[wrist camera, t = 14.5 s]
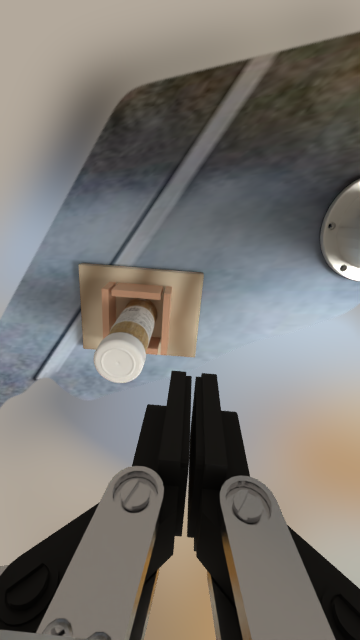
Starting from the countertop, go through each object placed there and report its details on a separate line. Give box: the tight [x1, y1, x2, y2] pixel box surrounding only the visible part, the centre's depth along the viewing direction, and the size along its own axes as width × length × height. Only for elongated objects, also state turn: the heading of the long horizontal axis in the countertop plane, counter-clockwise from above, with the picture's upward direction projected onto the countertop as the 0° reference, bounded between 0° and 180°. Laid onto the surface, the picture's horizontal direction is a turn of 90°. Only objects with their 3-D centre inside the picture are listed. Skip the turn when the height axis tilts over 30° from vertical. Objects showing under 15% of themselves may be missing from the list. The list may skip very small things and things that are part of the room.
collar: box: [102, 282, 172, 355], centre depth 36 cm, size 8×8×4 cm
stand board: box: [79, 263, 204, 357], centre depth 38 cm, size 16×12×1 cm
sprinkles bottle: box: [94, 298, 158, 383], centre depth 31 cm, size 5×5×14 cm
